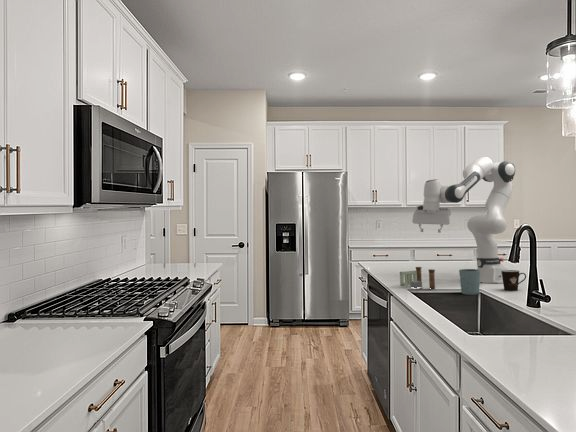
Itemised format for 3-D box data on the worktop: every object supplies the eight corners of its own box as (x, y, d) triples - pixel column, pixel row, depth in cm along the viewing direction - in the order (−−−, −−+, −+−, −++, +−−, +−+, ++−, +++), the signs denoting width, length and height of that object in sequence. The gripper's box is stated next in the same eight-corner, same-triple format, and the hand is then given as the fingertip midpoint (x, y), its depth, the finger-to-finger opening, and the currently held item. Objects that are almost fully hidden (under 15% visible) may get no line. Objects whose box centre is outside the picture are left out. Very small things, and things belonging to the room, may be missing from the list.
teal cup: (458, 294, 244) (457, 270, 244) (461, 291, 253) (460, 268, 253) (479, 295, 239) (479, 271, 239) (482, 292, 248) (481, 268, 248)
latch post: (432, 288, 266) (431, 268, 266) (437, 289, 260) (436, 269, 260) (426, 288, 265) (425, 269, 265) (431, 290, 260) (430, 270, 260)
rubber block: (418, 288, 269) (417, 280, 269) (422, 289, 265) (421, 281, 265) (410, 288, 268) (410, 281, 268) (414, 289, 264) (414, 282, 264)
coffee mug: (501, 290, 250) (500, 271, 250) (502, 288, 257) (501, 269, 257) (526, 291, 244) (525, 272, 244) (526, 289, 252) (526, 270, 252)
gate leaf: (417, 284, 274) (416, 270, 274) (402, 286, 270) (401, 272, 270) (415, 284, 276) (414, 270, 276) (400, 286, 272) (399, 271, 272)
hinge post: (420, 285, 278) (419, 266, 278) (423, 286, 274) (422, 267, 274) (415, 285, 277) (414, 267, 277) (418, 286, 274) (417, 267, 274)
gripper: (450, 208, 272) (449, 233, 271) (413, 207, 278) (412, 231, 277) (450, 207, 266) (450, 232, 265) (412, 207, 272) (411, 231, 271)
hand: (430, 232), depth 271 cm, fingers open, 8 cm apart
